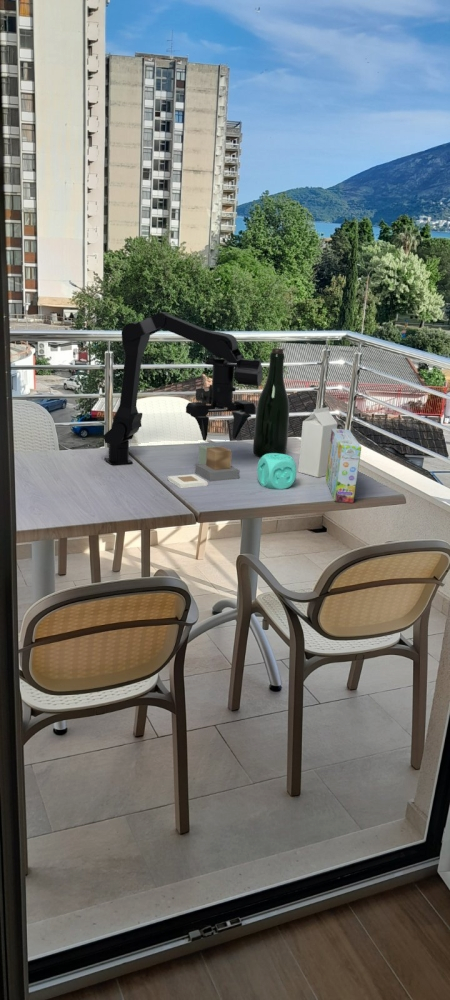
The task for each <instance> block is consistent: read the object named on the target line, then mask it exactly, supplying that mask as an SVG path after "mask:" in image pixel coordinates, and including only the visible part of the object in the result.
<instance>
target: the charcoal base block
mask: <svg viewBox="0 0 450 1000" xmlns="http://www.w3.org/2000/svg"><path fill="white" fill-rule="evenodd" d="M194 474H195V475H197V476H199V477H200V478H202V479H204V480H206V481H207V482H208V481H209V482H219V481H220V482H221V481H232V480H239V479H240V469H238V468H236V467H234V466H233V465H231V468H229V469H219V470H214V469H212V468H210V467H208V466H206V463H205V464H200V463H198V464H197V463H196V464H195V470H194Z"/></svg>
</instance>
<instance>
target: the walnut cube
mask: <svg viewBox="0 0 450 1000" xmlns="http://www.w3.org/2000/svg"><path fill="white" fill-rule="evenodd" d="M206 466H208V467H210V468H212V469H214V470H219V469H229V468H231V466H232V450H231V449H229V448H226V447H224V446H217V447H212V448H207V459H206Z"/></svg>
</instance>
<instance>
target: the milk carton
mask: <svg viewBox="0 0 450 1000" xmlns="http://www.w3.org/2000/svg"><path fill="white" fill-rule="evenodd" d="M332 429H338V421H336V419H335V418H334V417H333V414H331V412H330V407H329V406H327V407H322V408H320V407H319V408H314V409H313V412H311V413H310V414H309V416H308V417H306V418H305V419H304V420H303V421H302V428H301V437H300V438H301V439H300V446H299V447H300V449H299V450H300V451H299V461H298V468H297V469H298V471H297V473H300V474H304V475H307V476H311V477H315V478H321V477H326V473H327V465H328V457H329V448H330V440H331V431H332Z"/></svg>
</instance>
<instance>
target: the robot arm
mask: <svg viewBox="0 0 450 1000" xmlns="http://www.w3.org/2000/svg"><path fill="white" fill-rule="evenodd" d="M162 329H163V330H166V331H168V332H170V333H173V334H175V335H177V336H180V337H182V338H184V339H187V340H190V341H192V342H194V343H197V344H199V345H200V346H202V347H203V348H204V349H205V350H206V351H208V352H209V353H210V354H212V355H211V356H210V358H209V359H206V361H205V362H204V364H205V365H210V366H212V374H211V375H212V376H211V377H212V378H211V381H212V382H211V384H209V386H208V390H205V388H204V387H203V388H202V387H201V388H196V389H195V400H196V402H195V401H194V402H188V403H187V404H186V406H185V413H186V414H188V415H190V417H191V418H192V417H193V418H195V420H196V423H197V424H198V427H199V431H200V434H201V437H202V440H203V441H204V442H206V441H207V437H208V431H209V422H210V417H209V416H207V415H208V414H209V413H220V412H231V413H232V416H233V423H232V425H233V426H232V439H234V440H236V439H237V438H238V435H239V434H240V432H241V430H242V428H243V426H244V425H245V423H246V422H247V420H248V419H249V418H251V417H252V415H256V411H257V406H256V405H255V403H254V402H251V401H248V400H235V401H233V396H234V395H233V394H234V392H236V387H234V380H235V382H237V384H238V385H245V386H253V387H254V386H256V387H260V386H261V384H262V382H263V375H264V371H263V365H262V360H261V359H248V358H245V356H244V355H243V354H242V351H240V348H239V346H238V345H239V344H238V341H237V338H236V336H234V335H232V334H229V333H225V332H221V331H216V330H209V329H205V328H203V327H201V326H198V325H196V324H193V323H191V322H188V321H186V320H183V319H182V318H179V317H177V316H175V315H172V314H170V313H168V312H166V311H162V312H156V313H155V314H154V315H152V316H149V317H148V318H145V319H143V320H140V321H135V322H128V323H127V324H125V325H124V326H123V327H122V329H121V345H122V349H123V352H124V361H123V363H124V364H123V371H122V380H121V381H122V383H121V390H120V391H121V392H120V399H119V406H118V408H117V410H116V412H115V414H114V417H113V420H112V424H111V428H110V429H109V430H108V431H107V432H106V433H105V434H103V435H102V436H103V439H104V443H105V444H108V457H105V458H103V459H104V461H105V460H106V461H105V462H106V463H108V464H109V465H112V466H116V465H117V464H119V465H130V464H133V463H134V462H133V461H132V460H131V459H129V455H130V454H129V453H130V451H129V450H130V446H129V445H130V440H132V439H133V438H134V435H135V434H136V433H138V431H139V430H140V428H141V427H142V418H143V414H144V413H143V412H139V411H138V408H137V402H138V393H139V384H140V378H141V377H140V376H141V369H142V368H141V367H142V359H143V355H144V353H145V352H146V349H147V346H148V344H149V340H150V338H151V336H152V335H153V334H156V333H158V332H159V331H161V330H162ZM117 466H118V465H117Z"/></svg>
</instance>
